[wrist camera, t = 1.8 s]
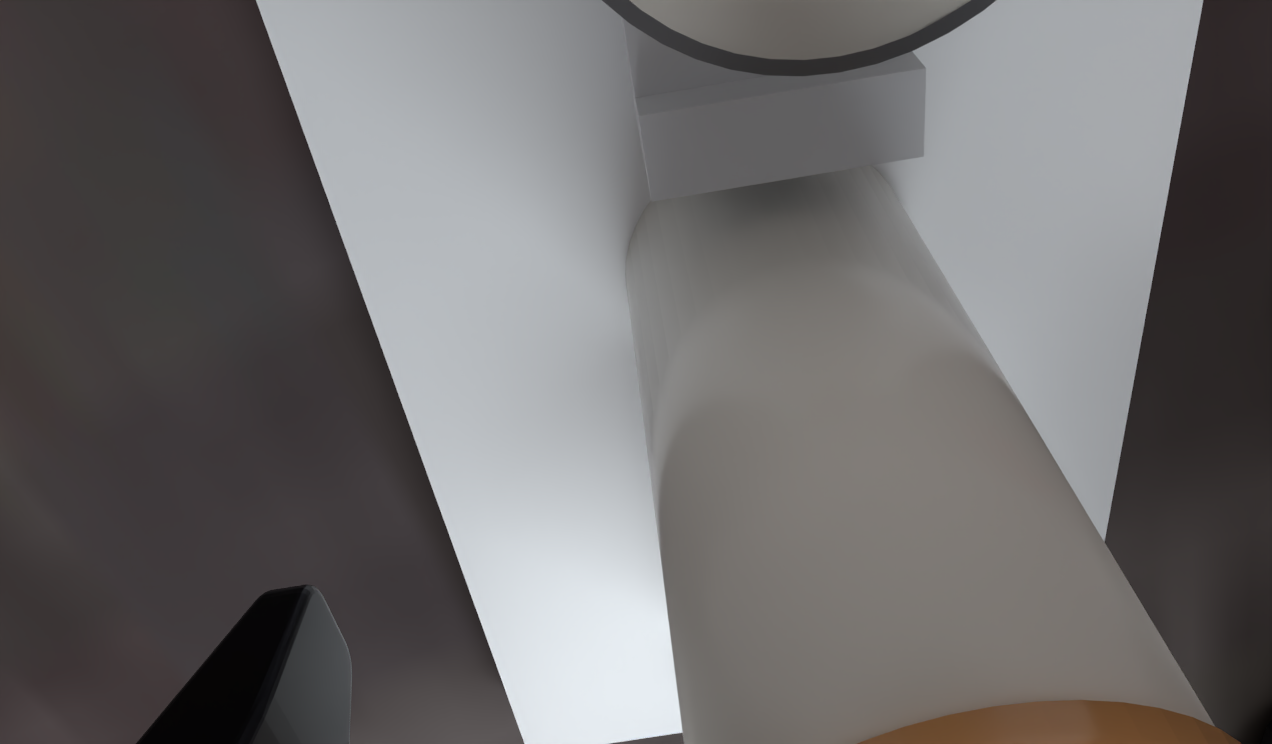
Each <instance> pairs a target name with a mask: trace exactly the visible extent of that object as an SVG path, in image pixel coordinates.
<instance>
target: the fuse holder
mask: <svg viewBox="0 0 1272 744" xmlns="http://www.w3.org/2000/svg"><path fill="white" fill-rule="evenodd" d="M256 2H257V4H258V7H259V10H260V13H261V15H262V18H263V21H264V24H265V27H266V29H267V32H268V35H269V38H270V40H271V43H272V46H273V49H274V51H275V54H276V57H277V60H278V63H279V65H280V68H281V71H282V74H283V76H284V79H285V82H286V85H287V87H288V90H289V93H290V96H291V98H292V101H293V104H294V107H295V110H296V112H297V115H298V118H299V121H300V123H301V126H302V129H303V132H304V134H305V137H306V140H307V143H308V146H309V148H310V151H311V154H312V157H313V159H314V162H315V165H316V168H317V170H318V173H319V176H320V179H321V182H322V184H323V187H324V190H325V193H326V195H327V198H328V201H329V204H330V206H331V209H332V212H333V215H334V217H335V220H336V223H337V226H338V229H339V231H340V234H341V237H342V240H343V242H344V245H345V248H346V251H347V253H348V256H349V259H350V262H351V265H352V267H353V270H354V273H355V276H356V278H357V281H358V284H359V287H360V289H361V292H362V295H363V298H364V300H365V303H366V306H367V309H368V312H369V314H370V317H371V320H372V323H373V325H374V328H375V331H376V334H377V336H378V339H379V342H380V345H381V348H382V350H383V353H384V356H385V359H386V361H387V364H388V367H389V370H390V372H391V375H392V378H393V381H394V384H395V386H396V389H397V392H398V395H399V397H400V400H401V403H402V406H403V408H404V411H405V414H406V417H407V419H408V422H409V425H410V428H411V431H412V433H413V436H414V439H415V442H416V444H417V447H418V450H419V453H420V455H421V458H422V461H423V464H424V467H425V469H426V472H427V475H428V478H429V480H430V483H431V486H432V489H433V491H434V494H435V497H436V500H437V502H438V505H439V508H440V511H441V514H442V516H443V519H444V522H445V525H446V527H447V530H448V533H449V536H450V538H451V541H452V544H453V547H454V550H455V552H456V555H457V558H458V561H459V563H460V566H461V569H462V572H463V574H464V577H465V580H466V583H467V585H468V588H469V591H470V594H471V597H472V599H473V602H474V605H475V608H476V610H477V613H478V616H479V619H480V621H481V624H482V627H483V630H484V633H485V635H486V638H487V641H488V644H489V646H490V649H491V652H492V655H493V657H494V660H495V663H496V666H497V669H498V671H499V674H500V677H501V680H502V682H503V685H504V688H505V691H506V693H507V696H508V699H509V702H510V704H511V707H512V710H513V713H514V716H515V718H516V721H517V724H518V727H519V729H520V732H521V735H522V738H523V740H524V743H525V744H609V743H615V742H622V741H629V740H635V739H642V738H648V737H655V736H662V735H668V734H675V733H681V732H682V724H681V716H680V708H679V700H678V692H677V684H676V676H675V668H674V660H673V652H672V644H671V636H670V628H669V621H668V613H667V605H666V597H665V589H664V581H663V573H662V565H661V557H660V549H659V541H658V533H657V525H656V517H655V509H654V501H653V494H652V486H651V478H650V470H649V462H648V454H647V446H646V438H645V430H644V422H643V414H642V406H641V398H640V390H639V382H638V374H637V367H636V359H635V351H634V343H633V335H632V327H631V319H630V311H629V303H628V295H627V286H626V276H625V273H626V257H627V253H628V248H629V243H630V240H631V237H632V234H633V231H634V229H635V226H636V224H637V222H638V220H639V218H640V216H641V214H642V213H643V211H644V209H645V208H646V206H647V205H648V203H649V202H650V201H652V202H653V201H659V200H665V199H671V198H677V197H683V196H689V195H695V194H701V193H708V192H714V191H720V190H726V189H732V188H738V187H744V186H750V185H756V184H762V183H768V182H774V181H780V180H786V179H792V178H798V177H804V176H810V175H816V174H822V173H828V172H834V171H840V170H846V169H852V168H858V167H864V166H870V165H872V166H873V167H874V168H875V169H876V170H878V171H879V173H880V174H881V175H882V176H883V177H884V178H885V180H886V181H887V182H888V183H889V185H890V186H891V188H892V190H893V191H894V193H895V195H896V196H897V198H898V200H899V201H900V203H901V205H902V206H903V208H904V209H905V211H906V213H907V214H908V216H909V218H910V219H911V221H912V223H913V224H914V226H915V228H916V229H917V231H918V233H919V234H920V236H921V238H922V239H923V241H924V243H925V244H926V246H927V248H928V249H929V251H930V253H931V254H932V256H933V258H934V259H935V261H936V263H937V264H938V266H939V268H940V269H941V271H942V273H943V274H944V276H945V278H946V279H947V281H948V283H949V284H950V286H951V288H952V289H953V291H954V293H955V294H956V296H957V298H958V299H959V301H960V303H961V304H962V306H963V308H964V309H965V311H966V313H967V314H968V316H969V318H970V319H971V321H972V323H973V324H974V326H975V328H976V329H977V331H978V333H979V334H980V336H981V338H982V339H983V341H984V343H985V344H986V346H987V348H988V349H989V351H990V353H991V354H992V356H993V358H994V359H995V361H996V363H997V364H998V366H999V368H1000V369H1001V371H1002V373H1003V374H1004V376H1005V378H1006V379H1007V381H1008V383H1009V384H1010V386H1011V388H1012V389H1013V391H1014V393H1015V394H1016V396H1017V398H1018V399H1019V401H1020V403H1021V404H1022V406H1023V408H1024V409H1025V411H1026V413H1027V414H1028V416H1029V418H1030V419H1031V421H1032V422H1033V424H1034V426H1035V427H1036V429H1037V431H1038V432H1039V434H1040V436H1041V437H1042V439H1043V441H1044V442H1045V444H1046V446H1047V447H1048V449H1049V451H1050V452H1051V454H1052V456H1053V457H1054V459H1055V461H1056V462H1057V464H1058V466H1059V467H1060V469H1061V471H1062V472H1063V474H1064V476H1065V477H1066V479H1067V481H1068V482H1069V484H1070V486H1071V487H1072V489H1073V491H1074V492H1075V494H1076V496H1077V497H1078V499H1079V501H1080V502H1081V504H1082V506H1083V507H1084V509H1085V511H1086V512H1087V514H1088V516H1089V517H1090V519H1091V521H1092V522H1093V524H1094V526H1095V527H1096V529H1097V531H1098V532H1099V534H1100V536H1101V537H1102V539H1103V541H1104V542H1105V537H1106V531H1107V526H1108V520H1109V515H1110V509H1111V504H1112V498H1113V493H1114V487H1115V482H1116V476H1117V471H1118V465H1119V460H1120V454H1121V449H1122V443H1123V438H1124V432H1125V427H1126V421H1127V416H1128V410H1129V405H1130V399H1131V394H1132V388H1133V383H1134V377H1135V372H1136V366H1137V361H1138V355H1139V350H1140V344H1141V339H1142V334H1143V328H1144V323H1145V317H1146V312H1147V306H1148V301H1149V295H1150V290H1151V284H1152V279H1153V273H1154V268H1155V262H1156V257H1157V251H1158V246H1159V240H1160V235H1161V229H1162V224H1163V218H1164V213H1165V207H1166V202H1167V196H1168V191H1169V185H1170V180H1171V174H1172V169H1173V163H1174V158H1175V152H1176V147H1177V141H1178V136H1179V131H1180V125H1181V120H1182V114H1183V109H1184V103H1185V98H1186V92H1187V87H1188V81H1189V76H1190V70H1191V65H1192V59H1193V54H1194V48H1195V43H1196V37H1197V32H1198V26H1199V21H1200V15H1201V10H1202V4H1203V0H256Z"/></svg>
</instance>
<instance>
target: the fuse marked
mask: <svg viewBox="0 0 1272 744" xmlns="http://www.w3.org/2000/svg"><path fill="white" fill-rule="evenodd" d="M625 276H626V286H627V295H628V303H629V311H630V319H631V327H632V335H633V343H634V351H635V359H636V367H637V374H638V382H639V390H640V398H641V406H642V414H643V422H644V430H645V438H646V446H647V454H648V462H649V470H650V478H651V486H652V494H653V501H654V509H655V517H656V525H657V533H658V541H659V549H660V557H661V565H662V573H663V581H664V589H665V597H666V605H667V613H668V621H669V628H670V636H671V644H672V652H673V660H674V668H675V676H676V684H677V692H678V700H679V708H680V716H681V724H682V732H683V740H684V744H1242V743H1241V742H1239V741H1238V740H1236V739H1235V738H1233V737H1231V736H1230V735H1228V734H1227V733H1225V732H1224V731H1222V730H1221V729H1219V728H1217V727H1215V725H1214V724H1213V722H1212V720H1211V719H1210V717H1209V715H1208V714H1207V712H1206V710H1205V709H1204V707H1203V705H1202V704H1201V702H1200V700H1199V699H1198V697H1197V695H1196V694H1195V692H1194V690H1193V689H1192V687H1191V685H1190V684H1189V682H1188V680H1187V679H1186V677H1185V675H1184V674H1183V672H1182V670H1181V669H1180V667H1179V665H1178V664H1177V662H1176V660H1175V659H1174V657H1173V655H1172V654H1171V652H1170V650H1169V649H1168V647H1167V645H1166V644H1165V642H1164V640H1163V639H1162V637H1161V635H1160V634H1159V632H1158V630H1157V629H1156V627H1155V626H1154V624H1153V622H1152V621H1151V619H1150V617H1149V616H1148V614H1147V612H1146V611H1145V609H1144V607H1143V606H1142V604H1141V602H1140V601H1139V599H1138V597H1137V596H1136V594H1135V592H1134V591H1133V589H1132V587H1131V586H1130V584H1129V582H1128V581H1127V579H1126V577H1125V576H1124V574H1123V572H1122V571H1121V569H1120V567H1119V566H1118V564H1117V562H1116V561H1115V559H1114V557H1113V556H1112V554H1111V552H1110V551H1109V549H1108V547H1107V546H1106V544H1105V542H1104V541H1103V539H1102V537H1101V536H1100V534H1099V532H1098V531H1097V529H1096V527H1095V526H1094V524H1093V522H1092V521H1091V519H1090V517H1089V516H1088V514H1087V512H1086V511H1085V509H1084V507H1083V506H1082V504H1081V502H1080V501H1079V499H1078V497H1077V496H1076V494H1075V492H1074V491H1073V489H1072V487H1071V486H1070V484H1069V482H1068V481H1067V479H1066V477H1065V476H1064V474H1063V472H1062V471H1061V469H1060V467H1059V466H1058V464H1057V462H1056V461H1055V459H1054V457H1053V456H1052V454H1051V452H1050V451H1049V449H1048V447H1047V446H1046V444H1045V442H1044V441H1043V439H1042V437H1041V436H1040V434H1039V432H1038V431H1037V429H1036V427H1035V426H1034V424H1033V422H1032V421H1031V419H1030V418H1029V416H1028V414H1027V413H1026V411H1025V409H1024V408H1023V406H1022V404H1021V403H1020V401H1019V399H1018V398H1017V396H1016V394H1015V393H1014V391H1013V389H1012V388H1011V386H1010V384H1009V383H1008V381H1007V379H1006V378H1005V376H1004V374H1003V373H1002V371H1001V369H1000V368H999V366H998V364H997V363H996V361H995V359H994V358H993V356H992V354H991V353H990V351H989V349H988V348H987V346H986V344H985V343H984V341H983V339H982V338H981V336H980V334H979V333H978V331H977V329H976V328H975V326H974V324H973V323H972V321H971V319H970V318H969V316H968V314H967V313H966V311H965V309H964V308H963V306H962V304H961V303H960V301H959V299H958V298H957V296H956V294H955V293H954V291H953V289H952V288H951V286H950V284H949V283H948V281H947V279H946V278H945V276H944V274H943V273H942V271H941V269H940V268H939V266H938V264H937V263H936V261H935V259H934V258H933V256H932V254H931V253H930V251H929V249H928V248H927V246H926V244H925V243H924V241H923V239H922V238H921V236H920V234H919V233H918V231H917V229H916V228H915V226H914V224H913V223H912V221H911V219H910V218H909V216H908V214H907V213H906V211H905V209H904V208H903V206H902V205H901V203H900V201H899V200H898V198H897V196H896V195H895V193H894V191H893V190H892V188H891V186H890V185H889V183H888V182H887V181H886V180H885V178H884V177H883V176H882V175H881V174H880V173H879V171H878V170H876V169H875V168H874V167H873V166H872V165H870V166H864V167H858V168H852V169H846V170H840V171H834V172H828V173H822V174H816V175H810V176H804V177H798V178H792V179H786V180H780V181H774V182H768V183H762V184H756V185H750V186H744V187H738V188H732V189H726V190H720V191H714V192H708V193H701V194H695V195H689V196H683V197H677V198H671V199H665V200H659V201H653V202H652V201H650V202H649V203H648V205H647V206H646V208H645V209H644V211H643V213H642V214H641V216H640V218H639V220H638V222H637V224H636V226H635V229H634V231H633V234H632V237H631V240H630V243H629V248H628V253H627V257H626V273H625Z"/></svg>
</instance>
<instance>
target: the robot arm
mask: <svg viewBox="0 0 1272 744" xmlns="http://www.w3.org/2000/svg"><path fill="white" fill-rule="evenodd" d="M351 684H352V668H351V659H350V654H349V650H348V647H347V645H346V642H345V640H344V638H343V636H342V634H341V632H340V630H339V628H338V626H337V624H336V622H335V620H334V618H333V616H332V614H331V612H330V610H329V607H328V605H327V603H326V601H325V599H324V597H323V595H322V594H321V592H320V591H319V590H318V589H317V588H316V587H314V586H312V585H301V586H294V587H288V588H282V589H275V590H270V591H267V592H265V593H264V594H262V595H261V596H260V597H259V598H258V599H257V600H256V601H255V602H254V603H253V604H252V606H251V607H250V608H249V609H248V610H247V612H246V613H245V614H244V615H243V616H242V618H241V619H240V620H239V621H238V622H237V623H236V625H235V626H234V627H233V628H232V629H231V631H230V632H229V633H228V634H227V635H226V637H225V638H224V639H223V640H222V641H221V643H220V644H219V645H218V646H217V647H216V649H215V650H214V651H213V652H212V653H211V655H210V656H209V657H208V658H207V659H206V661H205V662H204V663H203V664H202V665H201V667H200V668H199V669H198V670H197V671H196V673H195V674H194V675H193V676H192V677H191V679H190V680H189V681H188V682H187V683H186V684H185V686H184V687H183V688H182V689H181V690H180V692H179V693H178V694H177V695H176V696H175V698H174V699H173V700H172V701H171V702H170V704H169V705H168V706H167V707H166V708H165V710H164V711H163V712H162V713H161V714H160V716H159V717H158V718H157V719H156V720H155V722H154V723H153V724H152V725H151V726H150V728H149V729H148V730H147V731H146V732H145V734H144V735H143V736H142V737H141V738H140V740H139V741H138V742H137V743H136V744H349V739H350V711H351ZM1261 744H1272V720H1271V721H1270V723H1269V724H1268V725H1267V728H1266V730H1265V733H1264V736H1263V738H1262V741H1261Z"/></svg>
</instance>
